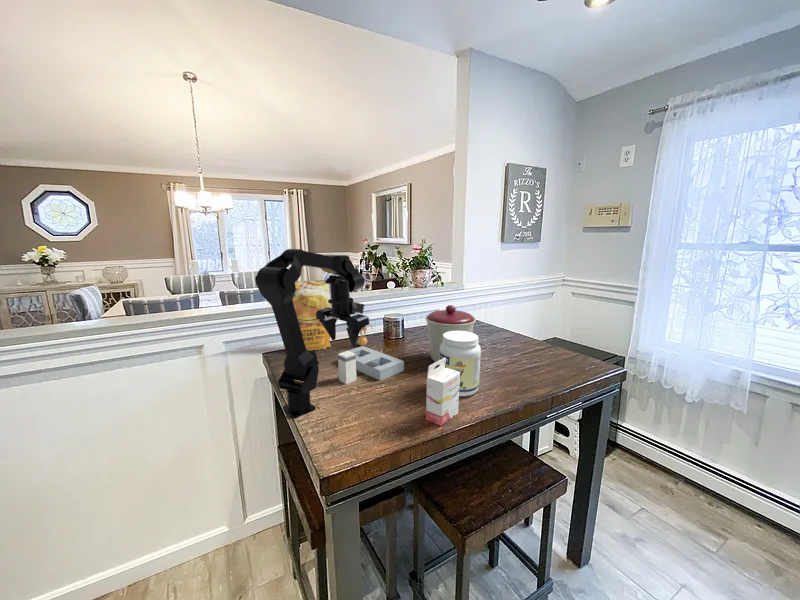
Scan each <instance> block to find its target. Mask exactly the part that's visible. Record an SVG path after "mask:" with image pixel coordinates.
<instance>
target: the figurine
mask: <svg viewBox="0 0 800 600" xmlns="http://www.w3.org/2000/svg"><path fill="white" fill-rule="evenodd" d="M368 326H370V327H371V330H373V327H374V326H372V324H371V323H370V322H369V325H368ZM366 331H367V327H366V326H365V327H363V328H362V329H361V330H360V332H359V335H360V336H359V337H358V338H357V343H358V345H359V347H361V346H364V347H366V345H367V343H368V339H367V338H368V337H366V334H367V333H366ZM362 332H363V333H362Z"/></svg>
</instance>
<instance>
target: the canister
mask: <svg viewBox="0 0 800 600" xmlns="http://www.w3.org/2000/svg"><path fill="white" fill-rule="evenodd" d="M424 319H425V321H426V323H427V335H428V344H429V345H428V346H429V353H430V357H431V360H433V362H434V363H435V362H437V361H439V348H440V345H441V343H442V342H443V341H442V339H443V334H444V333H446V332H449V331H467V332H471V333H474V324H475V323H476V321H477V318H476V317H475V316H473V315H472V314H471V313H468V312H467V311H461V310H457V309H456V306H455V305H453V304H448V305H446V307H445V309H443V310H442V309H441V310H435V311H432V312H430V313H429V314H426V315H425V318H424Z"/></svg>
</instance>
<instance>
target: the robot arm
mask: <svg viewBox="0 0 800 600" xmlns="http://www.w3.org/2000/svg"><path fill="white" fill-rule="evenodd" d="M303 267H308V268H316V269H320V270H322V271H323V272H325V273H327V274H330V275H328V277H327V279H325V280H326V281H325V283H327V284H329V285H330V297H331V299H329V300H328V303H331V308H330V307H327V308H324V309H320V310H318V311H317V313H316V319H319V322H321V324H322V325H323V326H324V328H325V329H326V331H327V332H328V334H329V336H330V340H332V341H335V340H336V338H337V333H336V332H337V329H336V327H337V325H336V324H337V321H342V322H346V327H345V328H346V329H345V330H346V331H347V335H348V338H349V341H350V345H351V347H352V348H353V347H355V346H356V345H357V342H358V339H359V335H360V330H361V329H362V328H363V327H366V326H370V325H369V323H370V317H369V316H368V315H365V314H363V313H364V311H365V309H364V308H365V304H364V303H359V302H355V301H354V298H353V297H350V293H352V292H355V291H357V290H360V289H362V288H363V287H364V285H365V283H366V281H365V278H364V276H363V274H361V272H360V270H359V269H357V268H355V266H354V264H353V262H352V260H351V258H350V256H349V255H347V254H346V255H345V254H320V253H315V252H311V251H306V250H303V249H301V248H300V249H299V248H288V249H286V250H284V251H283V252H281V254H280V255H278V256H277V257H275V258H274V259H272V260H271V261H269V262H267V263H266V264H265V265H264V266H263V267H261V268H260V269H258V272H257V274H256V275H255V278H254V279H255V280H254V281H255V284H256V288H257V289H258V291H259V292H260V295H261V296H262V297H263V298H264V299H265V300H266V302H268V303H269V304H270V305H271V308H272V309H271V310H272V311H273V314H274V318H275V322H276V325H277V328H278V331H279V334H280V337H281V341H282V343H283V346H284V349H285V354H286V356H285V358H284V360H283V368H284V369H283V371H282V373H281V375H280V377H279V379H278V381H277V386H278V388H279V390H281V389H282V390H286V397H287V401H286V402H287V405H284V406H283V407H282V410H283V411H284V412H285V413H287V414H288V415H290V416H291V417H292V418H294V419H296V418H298V417H300V416H303V415H305V414H307V413H310V412H312V411H314V410H316V409H317V407H316V405H314V404H312V403H311V393H310V392H312V391H313V390H314V389H316V388H317V384H318V383H317V382H318V378H319V372H320V371H319V365H320V362H319V360H318V358H317V357H318V355H317V353H316V351H310V350H307V349H306V347H305V343H304V340H303V336H302V333H301V329H300V326H299V322H298V319H297V315H296V311H295V308H294V304H293V297H294V294H295V291H296V287H295V282H296V281H299V278H300V277H301V276H302V270H303ZM356 313H358V314H356Z"/></svg>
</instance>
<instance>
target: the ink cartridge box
mask: <svg viewBox="0 0 800 600" xmlns="http://www.w3.org/2000/svg"><path fill="white" fill-rule="evenodd" d="M445 363H446V358H443V359H441V360H439V361H437V362H435V361H434V362H433V363H432V364H430V365H428V367H427V377H426V399H425V400H426V403H425V404H426V408H425V410H426V411H425V413H426V414H425V420H426V421H428V422H430V421H431V422H430V423H432V422H433V423H432V424H434V423H435V425H437V424H438V425H437V426H439V425H440V427H442V426H444V425H445V424H446V423H447V422H449V421H450V420H451V419H452V418H453V416H454V415H455V416H456V415H457V414H459V400H460V396H459V385H460V372H458V371H455V370H451V369H448V368H445ZM439 364H440V366H439ZM437 366H438V367H437ZM455 416H454V417H455ZM449 419H450V420H449ZM448 420H449V421H448ZM444 423H445V424H444ZM443 424H444V425H443Z"/></svg>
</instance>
